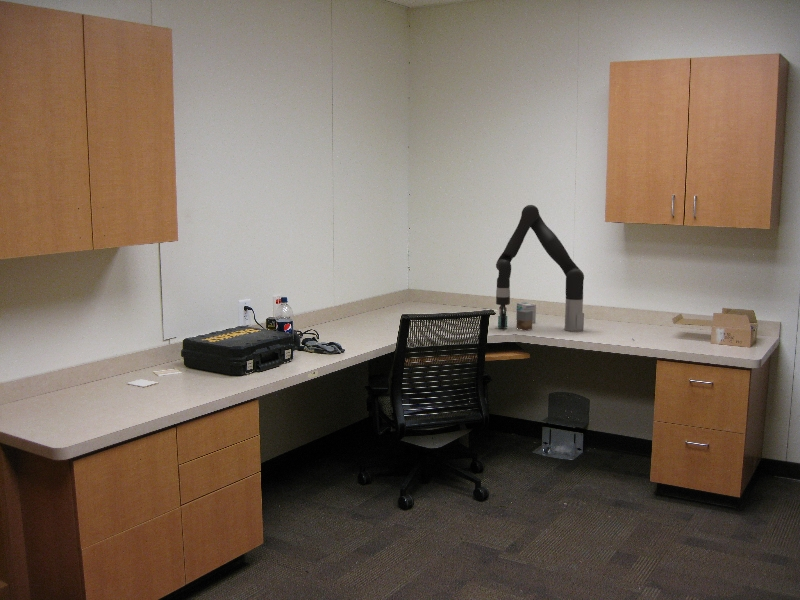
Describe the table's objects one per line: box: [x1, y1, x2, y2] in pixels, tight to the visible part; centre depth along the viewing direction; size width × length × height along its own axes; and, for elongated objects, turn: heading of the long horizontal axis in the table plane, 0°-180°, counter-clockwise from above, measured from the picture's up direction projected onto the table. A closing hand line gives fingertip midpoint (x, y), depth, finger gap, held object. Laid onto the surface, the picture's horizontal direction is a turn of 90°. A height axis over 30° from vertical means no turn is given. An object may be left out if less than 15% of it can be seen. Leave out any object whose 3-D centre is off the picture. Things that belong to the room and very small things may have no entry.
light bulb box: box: [515, 301, 537, 324], centre depth 462 cm, size 11×7×11 cm, turn 25°
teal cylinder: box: [497, 315, 508, 329], centre depth 443 cm, size 5×5×6 cm
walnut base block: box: [516, 320, 533, 331], centre depth 442 cm, size 6×6×5 cm
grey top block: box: [516, 310, 533, 321], centre depth 441 cm, size 6×6×5 cm
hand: (502, 326), depth 444 cm, fingers closed on teal cylinder, 5 cm apart
